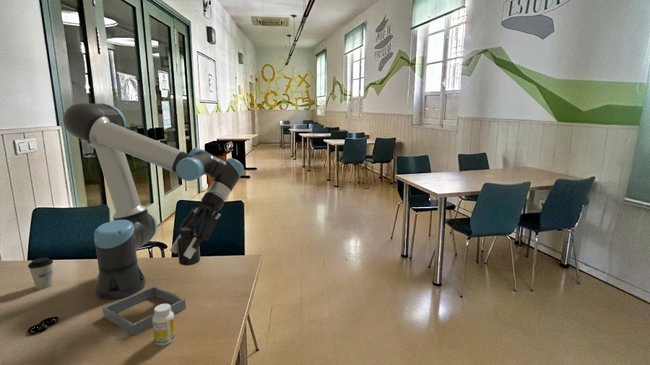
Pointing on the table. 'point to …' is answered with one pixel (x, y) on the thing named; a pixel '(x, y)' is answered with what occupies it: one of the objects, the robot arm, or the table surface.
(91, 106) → the robot arm
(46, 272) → the coffee cup
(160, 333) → the supplement bottle
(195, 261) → the supplement bottle
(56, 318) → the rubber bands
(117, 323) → the square frame
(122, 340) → the table surface
